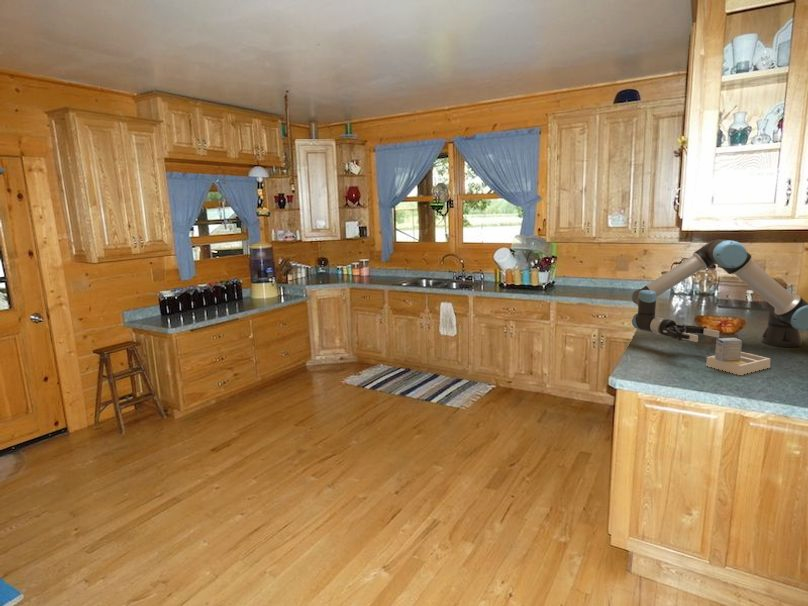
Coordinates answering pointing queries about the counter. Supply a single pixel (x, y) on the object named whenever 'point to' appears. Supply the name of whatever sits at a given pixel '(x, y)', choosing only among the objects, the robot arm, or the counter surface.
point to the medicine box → (728, 349)
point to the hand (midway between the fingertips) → (708, 336)
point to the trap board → (740, 364)
